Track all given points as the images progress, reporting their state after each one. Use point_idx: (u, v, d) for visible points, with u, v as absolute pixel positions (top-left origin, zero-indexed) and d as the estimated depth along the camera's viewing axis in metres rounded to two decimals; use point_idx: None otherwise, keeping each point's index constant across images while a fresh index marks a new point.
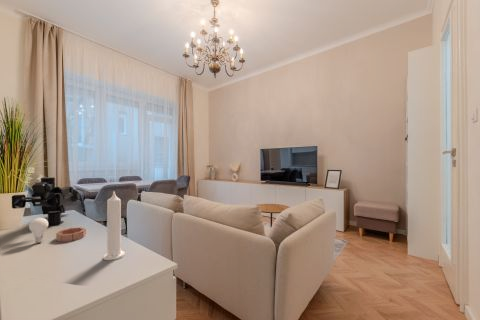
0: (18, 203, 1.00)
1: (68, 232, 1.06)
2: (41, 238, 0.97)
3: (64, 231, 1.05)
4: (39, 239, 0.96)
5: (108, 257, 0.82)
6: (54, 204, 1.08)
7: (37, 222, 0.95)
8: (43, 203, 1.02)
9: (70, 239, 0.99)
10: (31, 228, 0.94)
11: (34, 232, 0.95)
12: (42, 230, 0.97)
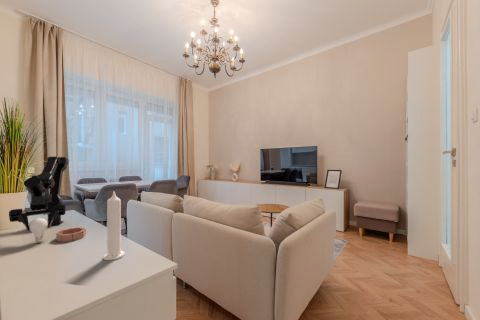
0: (28, 224, 0.95)
1: (68, 232, 1.06)
2: (41, 238, 0.97)
3: (64, 231, 1.05)
4: (39, 239, 0.96)
5: (108, 257, 0.82)
6: (56, 216, 1.05)
7: (37, 222, 0.95)
8: (50, 224, 1.00)
9: (70, 239, 0.99)
10: (31, 228, 0.94)
11: (34, 232, 0.95)
12: (42, 230, 0.97)
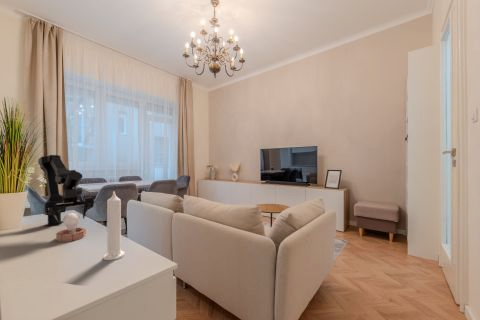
0: (58, 216, 1.01)
1: (68, 232, 1.06)
2: (74, 231, 1.04)
3: (64, 231, 1.05)
4: (72, 232, 1.03)
5: (108, 257, 0.82)
6: (89, 208, 1.12)
7: (70, 217, 1.01)
8: (84, 215, 1.07)
9: (70, 239, 0.99)
10: (65, 222, 1.00)
11: (68, 226, 1.01)
12: (75, 224, 1.03)
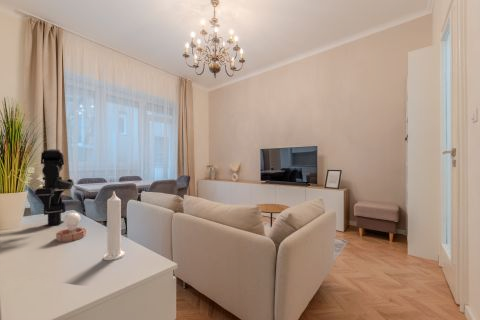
0: None
1: (68, 232, 1.06)
2: (74, 232, 1.04)
3: (64, 231, 1.05)
4: (73, 232, 1.03)
5: (108, 257, 0.82)
6: None
7: (71, 217, 1.01)
8: None
9: (70, 239, 0.99)
10: (66, 222, 1.01)
11: (68, 226, 1.02)
12: (76, 224, 1.03)
